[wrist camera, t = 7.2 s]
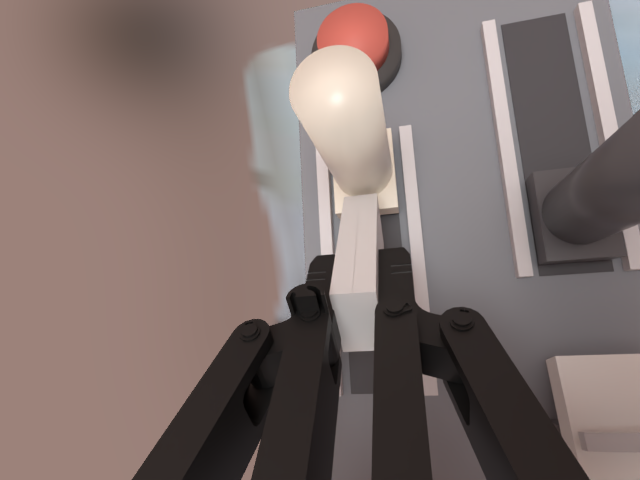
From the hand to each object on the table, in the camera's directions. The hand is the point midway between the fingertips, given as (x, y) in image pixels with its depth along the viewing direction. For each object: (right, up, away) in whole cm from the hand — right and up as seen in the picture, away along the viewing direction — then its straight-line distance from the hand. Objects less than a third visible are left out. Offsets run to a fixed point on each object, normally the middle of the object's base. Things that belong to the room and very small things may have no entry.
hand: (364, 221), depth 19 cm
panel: (+6, -1, +3) cm, 6 cm away
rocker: (+9, -8, -3) cm, 13 cm away
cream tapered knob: (0, +2, +2) cm, 3 cm away
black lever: (+9, 0, 0) cm, 9 cm away
